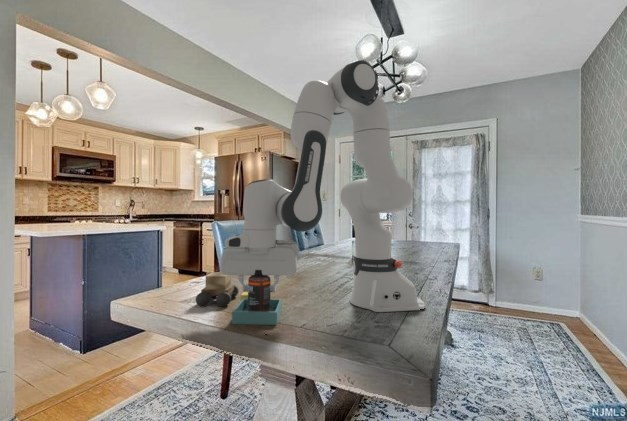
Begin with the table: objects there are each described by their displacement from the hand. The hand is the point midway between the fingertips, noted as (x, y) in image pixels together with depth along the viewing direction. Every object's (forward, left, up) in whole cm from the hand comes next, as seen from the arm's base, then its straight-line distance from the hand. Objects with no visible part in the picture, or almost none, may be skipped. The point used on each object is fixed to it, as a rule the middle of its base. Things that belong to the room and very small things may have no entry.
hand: (259, 291), depth 81 cm
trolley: (+15, -13, -7) cm, 21 cm away
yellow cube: (+5, -8, -7) cm, 12 cm away
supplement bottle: (0, 0, -5) cm, 5 cm away
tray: (0, 0, -7) cm, 7 cm away
